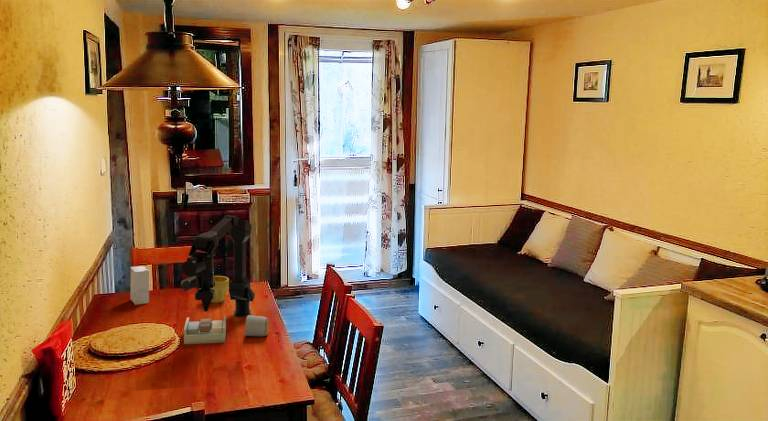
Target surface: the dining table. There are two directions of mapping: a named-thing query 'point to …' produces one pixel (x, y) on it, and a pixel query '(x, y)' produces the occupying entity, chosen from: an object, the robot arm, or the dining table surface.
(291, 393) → the dining table surface
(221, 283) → the plant pot
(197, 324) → the grey flat block
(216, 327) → the ivory key
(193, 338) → the key bed
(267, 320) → the ceramic mug
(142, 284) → the skincare box
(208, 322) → the brown rectangular block
